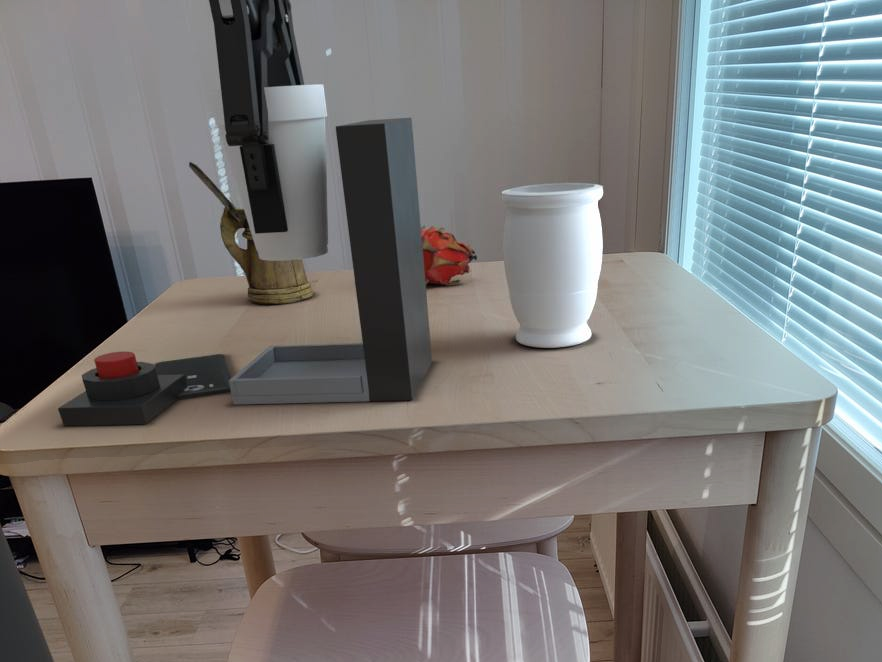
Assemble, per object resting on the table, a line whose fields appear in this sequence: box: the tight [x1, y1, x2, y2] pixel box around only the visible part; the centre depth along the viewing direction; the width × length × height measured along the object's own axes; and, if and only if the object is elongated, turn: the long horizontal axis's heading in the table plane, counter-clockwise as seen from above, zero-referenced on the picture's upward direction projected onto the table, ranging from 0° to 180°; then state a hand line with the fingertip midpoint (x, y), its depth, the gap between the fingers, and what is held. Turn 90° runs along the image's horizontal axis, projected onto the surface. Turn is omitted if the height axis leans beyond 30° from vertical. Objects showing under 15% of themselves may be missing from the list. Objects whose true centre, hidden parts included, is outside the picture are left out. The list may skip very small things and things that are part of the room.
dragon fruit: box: [421, 224, 478, 287], centre depth 125 cm, size 8×8×12 cm
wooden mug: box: [188, 161, 314, 305], centre depth 119 cm, size 9×14×18 cm, turn 111°
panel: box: [57, 361, 187, 427], centre depth 81 cm, size 8×10×4 cm
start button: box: [93, 351, 139, 378], centre depth 80 cm, size 4×4×2 cm
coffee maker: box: [229, 117, 433, 406], centre depth 80 cm, size 17×13×22 cm
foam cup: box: [209, 83, 329, 261], centre depth 76 cm, size 10×9×13 cm
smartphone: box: [154, 353, 232, 401], centre depth 90 cm, size 8×15×1 cm, turn 18°
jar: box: [501, 182, 604, 349], centre depth 91 cm, size 11×10×15 cm
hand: (288, 224), depth 78 cm, fingers closed on foam cup, 9 cm apart
